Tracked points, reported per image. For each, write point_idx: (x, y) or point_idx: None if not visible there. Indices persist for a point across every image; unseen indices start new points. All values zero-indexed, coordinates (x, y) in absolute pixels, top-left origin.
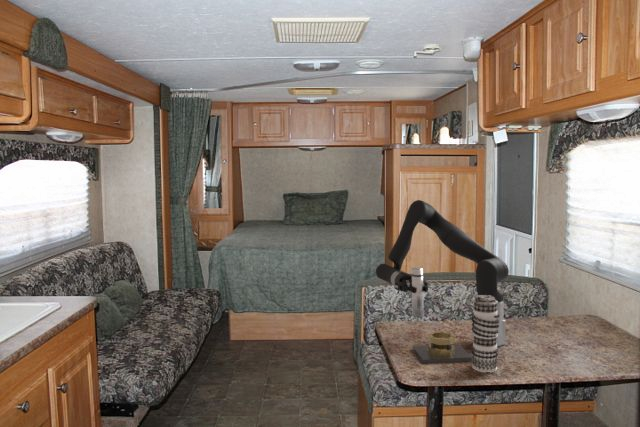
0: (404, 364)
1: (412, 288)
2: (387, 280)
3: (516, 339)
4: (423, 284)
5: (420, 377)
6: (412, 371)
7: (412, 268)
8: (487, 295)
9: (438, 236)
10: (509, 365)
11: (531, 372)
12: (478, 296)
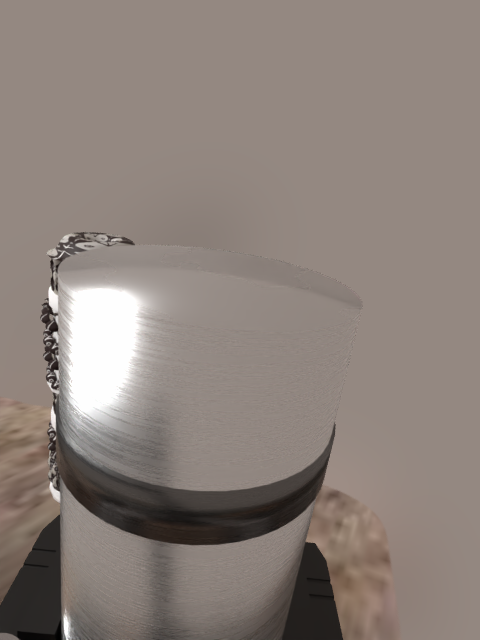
0: (360, 608)
1: (307, 551)
2: None
3: None
4: (3, 634)
5: (326, 501)
6: (341, 542)
7: (342, 301)
8: (74, 237)
9: None
10: (8, 465)
11: (12, 422)
12: (119, 242)
